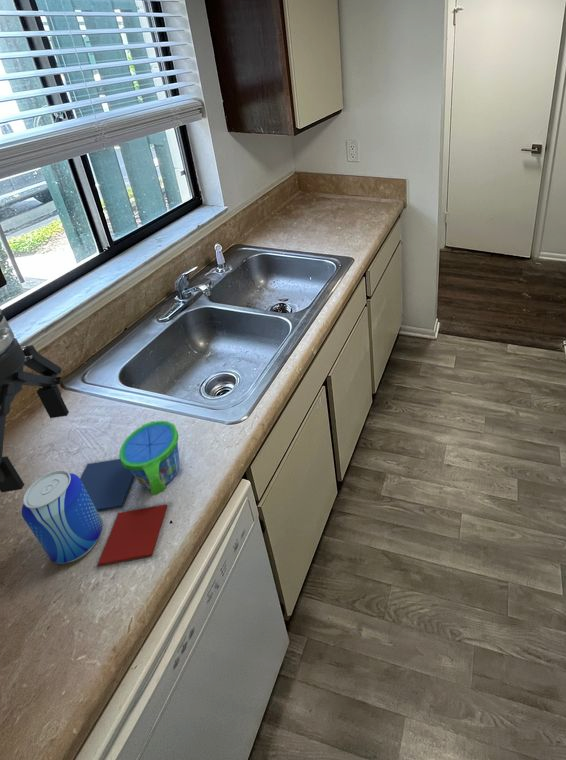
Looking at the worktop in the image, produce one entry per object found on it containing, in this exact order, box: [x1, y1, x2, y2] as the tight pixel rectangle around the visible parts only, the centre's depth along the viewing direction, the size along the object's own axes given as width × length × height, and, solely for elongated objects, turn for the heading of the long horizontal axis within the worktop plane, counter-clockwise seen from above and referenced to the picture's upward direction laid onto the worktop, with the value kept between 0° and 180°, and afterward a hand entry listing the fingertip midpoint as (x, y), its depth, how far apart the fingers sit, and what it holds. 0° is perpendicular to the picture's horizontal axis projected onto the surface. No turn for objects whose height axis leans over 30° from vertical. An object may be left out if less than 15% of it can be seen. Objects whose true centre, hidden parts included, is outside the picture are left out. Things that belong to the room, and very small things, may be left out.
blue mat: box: [79, 458, 135, 512], centre depth 91 cm, size 11×11×1 cm
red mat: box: [97, 504, 168, 567], centre depth 83 cm, size 9×9×1 cm
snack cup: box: [119, 420, 180, 496], centre depth 92 cm, size 16×10×10 cm
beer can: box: [21, 469, 104, 565], centre depth 78 cm, size 8×8×16 cm
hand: (38, 449), depth 72 cm, fingers open, 13 cm apart
